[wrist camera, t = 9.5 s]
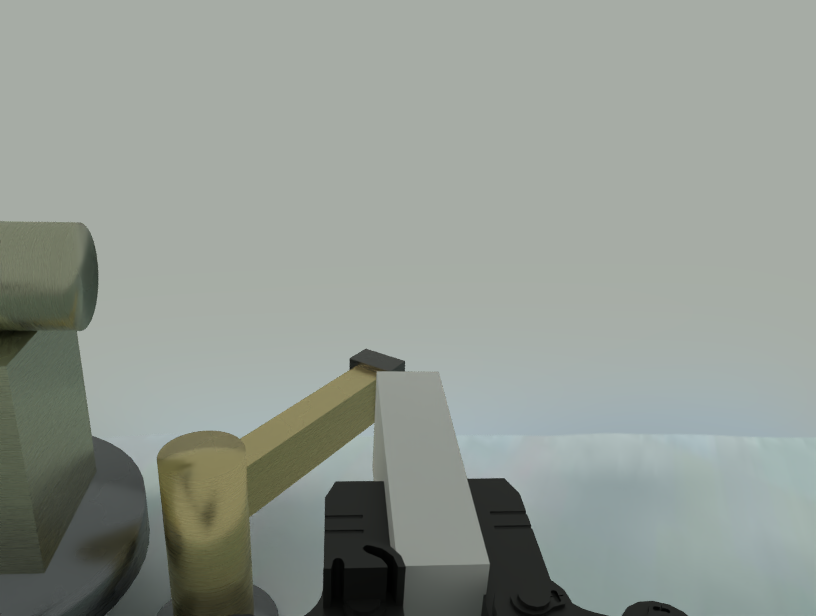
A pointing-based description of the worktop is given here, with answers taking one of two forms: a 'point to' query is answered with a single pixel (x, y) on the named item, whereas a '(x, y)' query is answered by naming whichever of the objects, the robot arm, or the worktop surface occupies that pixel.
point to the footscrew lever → (250, 485)
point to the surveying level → (61, 441)
